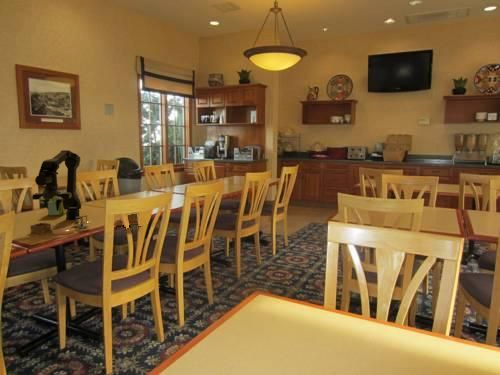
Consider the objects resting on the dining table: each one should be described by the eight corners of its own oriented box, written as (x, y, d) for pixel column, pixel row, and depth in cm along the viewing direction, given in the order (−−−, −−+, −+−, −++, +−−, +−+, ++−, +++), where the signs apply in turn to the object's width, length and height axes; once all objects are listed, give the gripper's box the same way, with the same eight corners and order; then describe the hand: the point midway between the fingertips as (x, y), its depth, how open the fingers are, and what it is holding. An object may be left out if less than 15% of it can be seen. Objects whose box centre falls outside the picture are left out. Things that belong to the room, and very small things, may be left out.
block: (51, 213, 209) (50, 201, 208) (58, 213, 210) (57, 200, 209) (48, 214, 205) (47, 202, 204) (56, 214, 206) (55, 202, 205)
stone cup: (140, 221, 225) (139, 197, 222) (143, 226, 214) (142, 200, 212) (113, 223, 219) (112, 198, 216) (115, 228, 208) (114, 202, 206)
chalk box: (48, 216, 237) (46, 193, 235) (51, 213, 246) (50, 190, 243) (64, 215, 239) (62, 192, 237) (67, 212, 248) (65, 190, 246)
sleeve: (41, 229, 204) (40, 222, 204) (50, 230, 202) (50, 223, 202) (31, 232, 198) (30, 225, 197) (40, 234, 196) (40, 226, 195)
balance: (70, 226, 212) (69, 213, 211) (78, 224, 216) (77, 211, 215) (85, 230, 203) (84, 216, 202) (93, 228, 208) (93, 215, 206)
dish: (68, 228, 208) (68, 226, 208) (79, 231, 202) (79, 229, 201) (48, 232, 199) (48, 230, 199) (59, 236, 193) (59, 234, 192)
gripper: (27, 185, 196) (29, 214, 198) (65, 185, 199) (67, 213, 201) (35, 182, 207) (37, 210, 209) (71, 182, 210) (72, 209, 212)
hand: (53, 211), depth 208 cm, fingers closed on block, 4 cm apart
